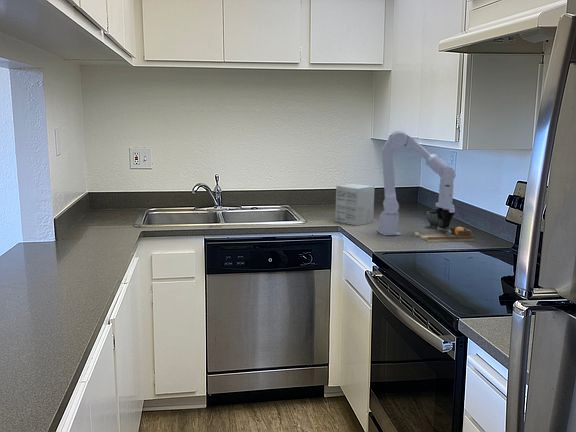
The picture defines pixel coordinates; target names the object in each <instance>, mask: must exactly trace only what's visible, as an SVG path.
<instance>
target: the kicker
mask: <svg viewBox="0 0 576 432" xmlns="http://www.w3.org/2000/svg"><path fill="white" fill-rule="evenodd" d="M448 228H449V227H448ZM448 228H444V227H443V219H442V218H441V219H439V227H437V229H436V230H444V231H446V236H451V234H452V232H451V229H448Z"/></svg>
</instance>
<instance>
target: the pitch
mask: <svg viewBox="0 0 576 432" xmlns="http://www.w3.org/2000/svg"><path fill="white" fill-rule="evenodd" d="M457 227H458V226H457ZM457 227H456V226H454V227H453V226H451V227H450V230H451V232H452V234H451V236H446V231H444V230H439V229H419V230H418V231H412V235H414V236H416V237H418V238H420V239H421V240H424V241H425V242H427V243H451V242H453V243H455V242H457V243H459V242H474V241H475V236H474V235H472V230H470V229H468V228H466V227H463V226H461V227H462V228H463V229H464V231H458V236H457V235H456V234H455V232H454V231H455V228H457Z"/></svg>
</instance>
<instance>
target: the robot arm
mask: <svg viewBox="0 0 576 432" xmlns="http://www.w3.org/2000/svg"><path fill="white" fill-rule="evenodd" d="M401 147H405V148H410V149H412V150H413V151H415V152H416V153H417V154H418V155H419V156H421V157H422V158H423V159H424V160H425V165H426V166H428V167H429V168H430V170H432V171H433V172H434V173H436V174H437V175H439V177H440V180H439V181H440V182H439V186H438V187H439V189H438V201H437V202H435V209H434V211H436V213H437V216H438V221H439V219H441V218H442V219H443V227H444V228H449V226H450V224H451V222H452V218H453V216H454V215H455V213H456V208H455V204H453V195H454V183H455V182H454V179H455V178H456V176H457V174H456V172H455V170H454V168H452V167H451V166H450V164H449V163H448V162H445V161H444V160H443V159H442V158H441V155H439V154H436V153H430V152H429V151H428V150H427V149H426V148H425V147H424V146H422V144H420V143H419V142H418V141H417V140H416V139H414V138H413V137H412V136H410V135H408V134H406V133H405V132H404V131H401V130H395V131H394V132H392V133H391V134H390V135H389V136H388V138H387V140H386V142H385V143H384V145H383V147H382V149H381V158H382V173H383V174H382V175H383V188H384V199H383V202H382V206H383V210H381V213H380V215H379V220H378V221H379V224H378V229H376V232H378V233H380V234H381V235H383V236H402V233H401V232H399V223H400V222H399V220H400V219H399V218H400V212H399V209H400V203H399V202H398V200H397V194H396V193H397V192H396V183H395V167H394V154H395V153H396V152H397V150H399V149H400V148H401Z"/></svg>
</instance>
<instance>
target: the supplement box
mask: <svg viewBox="0 0 576 432" xmlns="http://www.w3.org/2000/svg"><path fill="white" fill-rule="evenodd" d="M335 188H336V190H335V191H336V192H335V214H334V215H335V217H334V218H335V219H334V222H336V223H339V222H340V223H341V224H345V223H346V224H345V225H350V224H351V225H350V226H355V225H357V226H362V225H366V224H372V223H374V209H375V208H374V206H375V186H374V185H366V184H358V183H348V184H341V185H336V186H335Z"/></svg>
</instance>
